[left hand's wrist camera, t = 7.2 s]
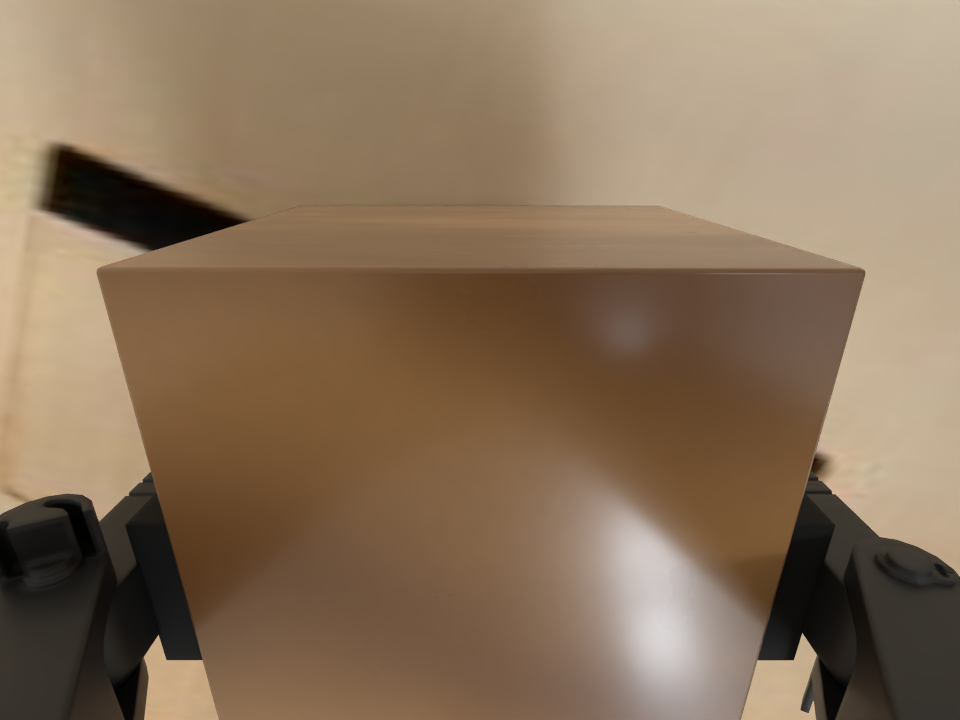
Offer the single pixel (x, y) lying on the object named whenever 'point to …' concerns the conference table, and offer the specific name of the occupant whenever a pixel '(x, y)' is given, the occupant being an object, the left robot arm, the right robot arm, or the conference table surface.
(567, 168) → the conference table surface
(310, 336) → the brown wooden bar
